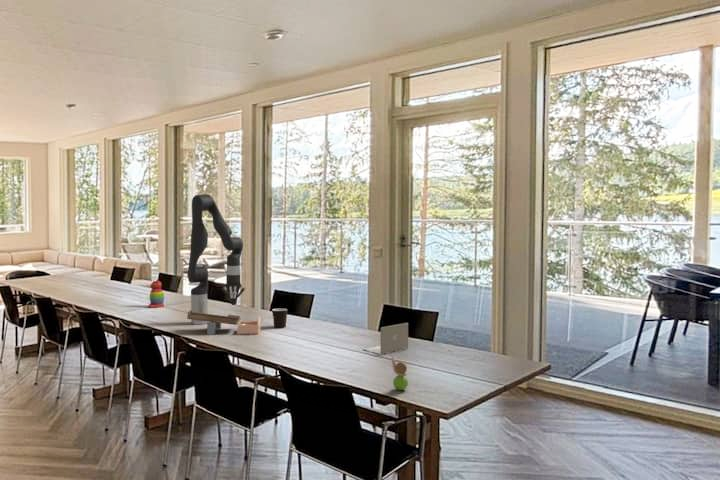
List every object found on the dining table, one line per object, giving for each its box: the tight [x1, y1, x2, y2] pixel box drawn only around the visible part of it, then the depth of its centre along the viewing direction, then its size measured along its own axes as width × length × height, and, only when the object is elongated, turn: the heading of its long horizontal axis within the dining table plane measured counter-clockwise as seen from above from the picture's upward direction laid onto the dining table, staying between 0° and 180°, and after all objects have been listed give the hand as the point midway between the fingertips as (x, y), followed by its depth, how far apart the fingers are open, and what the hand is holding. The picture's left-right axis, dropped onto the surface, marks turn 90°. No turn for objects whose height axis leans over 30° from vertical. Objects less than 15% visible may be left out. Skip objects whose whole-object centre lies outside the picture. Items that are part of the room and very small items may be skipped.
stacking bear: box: [148, 279, 165, 309], centre depth 395 cm, size 11×10×18 cm
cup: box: [236, 315, 262, 335], centre depth 313 cm, size 11×11×8 cm
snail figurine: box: [391, 356, 409, 391], centre depth 214 cm, size 5×6×12 cm
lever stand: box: [206, 322, 222, 336], centre depth 316 cm, size 17×4×6 cm, turn 3°
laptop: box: [366, 322, 409, 355], centre depth 275 cm, size 18×12×13 cm
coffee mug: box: [271, 307, 288, 329], centre depth 328 cm, size 12×9×10 cm
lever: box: [186, 309, 241, 326], centre depth 315 cm, size 14×26×5 cm, turn 93°
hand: (233, 304), depth 320 cm, fingers closed
